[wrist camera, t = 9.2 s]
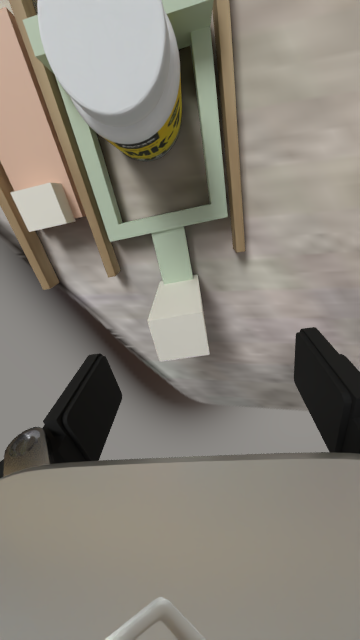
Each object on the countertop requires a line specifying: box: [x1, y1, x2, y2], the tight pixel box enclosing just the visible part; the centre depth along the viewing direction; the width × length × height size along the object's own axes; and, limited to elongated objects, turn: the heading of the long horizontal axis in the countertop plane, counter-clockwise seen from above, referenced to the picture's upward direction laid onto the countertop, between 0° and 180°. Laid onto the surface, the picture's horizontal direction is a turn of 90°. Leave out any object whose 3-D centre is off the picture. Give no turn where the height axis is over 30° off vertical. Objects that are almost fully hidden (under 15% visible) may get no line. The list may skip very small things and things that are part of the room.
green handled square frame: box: [23, 0, 228, 362], centre depth 13 cm, size 9×17×7 cm, turn 11°
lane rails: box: [0, 0, 245, 290], centre depth 12 cm, size 16×28×2 cm, turn 11°
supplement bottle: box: [37, 0, 182, 161], centre depth 11 cm, size 5×5×8 cm
